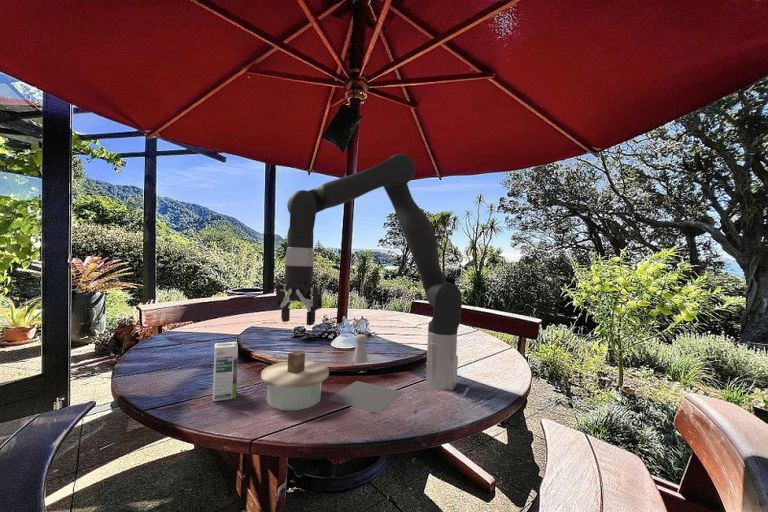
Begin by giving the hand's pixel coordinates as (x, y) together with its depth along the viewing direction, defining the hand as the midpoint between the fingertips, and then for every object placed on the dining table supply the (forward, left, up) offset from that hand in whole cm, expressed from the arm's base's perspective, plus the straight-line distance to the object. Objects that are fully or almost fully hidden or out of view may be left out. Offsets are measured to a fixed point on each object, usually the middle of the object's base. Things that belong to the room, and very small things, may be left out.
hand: (297, 323), depth 91 cm
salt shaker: (-4, -29, -21) cm, 36 cm away
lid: (0, 0, -14) cm, 14 cm away
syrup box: (+18, +8, -21) cm, 29 cm away
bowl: (0, 0, -21) cm, 21 cm away
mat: (-16, -12, -21) cm, 29 cm away
